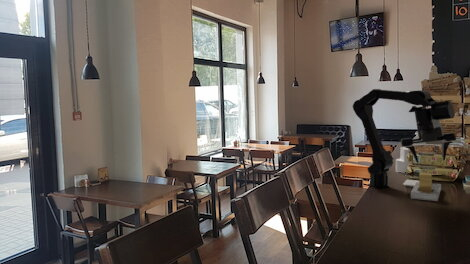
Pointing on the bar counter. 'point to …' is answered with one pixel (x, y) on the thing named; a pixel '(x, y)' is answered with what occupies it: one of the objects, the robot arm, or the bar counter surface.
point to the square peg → (425, 182)
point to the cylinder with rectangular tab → (402, 160)
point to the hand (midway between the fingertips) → (430, 161)
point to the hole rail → (426, 195)
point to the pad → (410, 183)
